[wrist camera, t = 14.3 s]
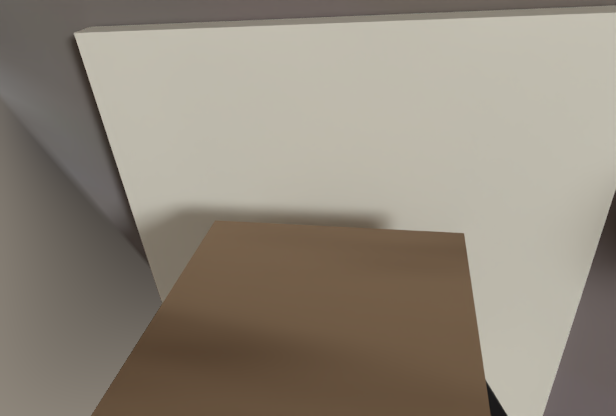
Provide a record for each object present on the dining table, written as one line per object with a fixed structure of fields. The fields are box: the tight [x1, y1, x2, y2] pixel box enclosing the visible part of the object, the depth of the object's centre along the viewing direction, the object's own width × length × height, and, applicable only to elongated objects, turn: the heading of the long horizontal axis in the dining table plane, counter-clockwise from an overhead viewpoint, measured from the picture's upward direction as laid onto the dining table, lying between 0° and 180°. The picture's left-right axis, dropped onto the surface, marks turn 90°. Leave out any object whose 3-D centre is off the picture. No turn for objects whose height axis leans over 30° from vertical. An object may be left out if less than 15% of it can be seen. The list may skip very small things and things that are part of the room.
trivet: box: [74, 5, 616, 416], centre depth 12 cm, size 12×11×1 cm
